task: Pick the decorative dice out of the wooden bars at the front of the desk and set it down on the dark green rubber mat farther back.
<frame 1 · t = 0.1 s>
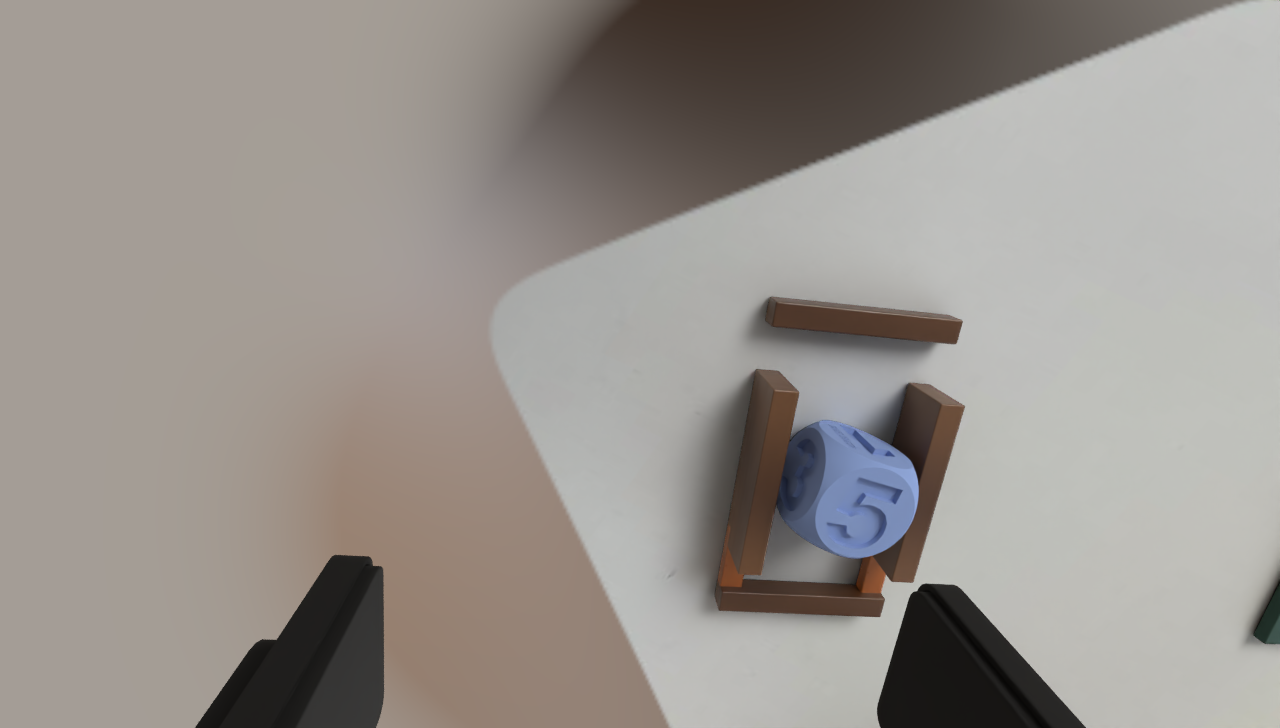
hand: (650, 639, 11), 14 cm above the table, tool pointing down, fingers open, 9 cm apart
decorative dice: (823, 461, 26), resting in wooden bars
wooden bars: (824, 463, 26), on the table
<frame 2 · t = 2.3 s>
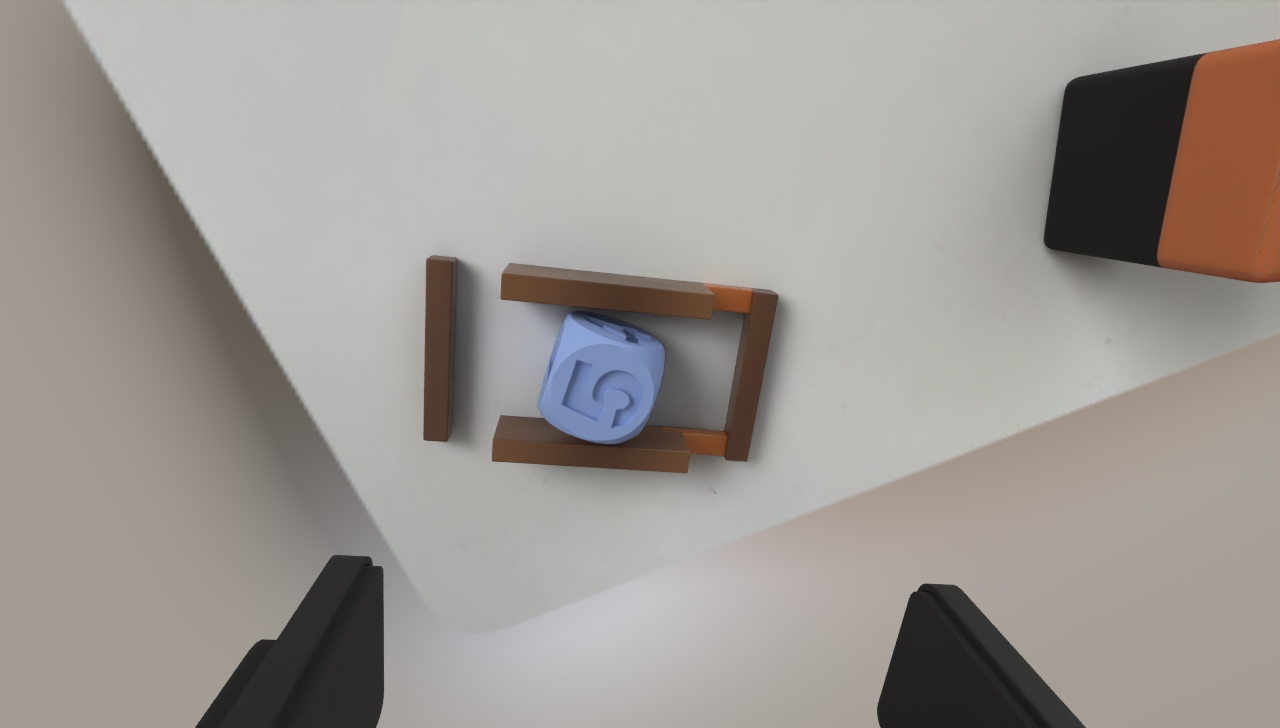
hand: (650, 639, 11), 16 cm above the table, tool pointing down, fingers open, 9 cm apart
battery: (1092, 164, 26), on the table
decorative dice: (598, 359, 26), resting in wooden bars
wooden bars: (598, 361, 26), on the table
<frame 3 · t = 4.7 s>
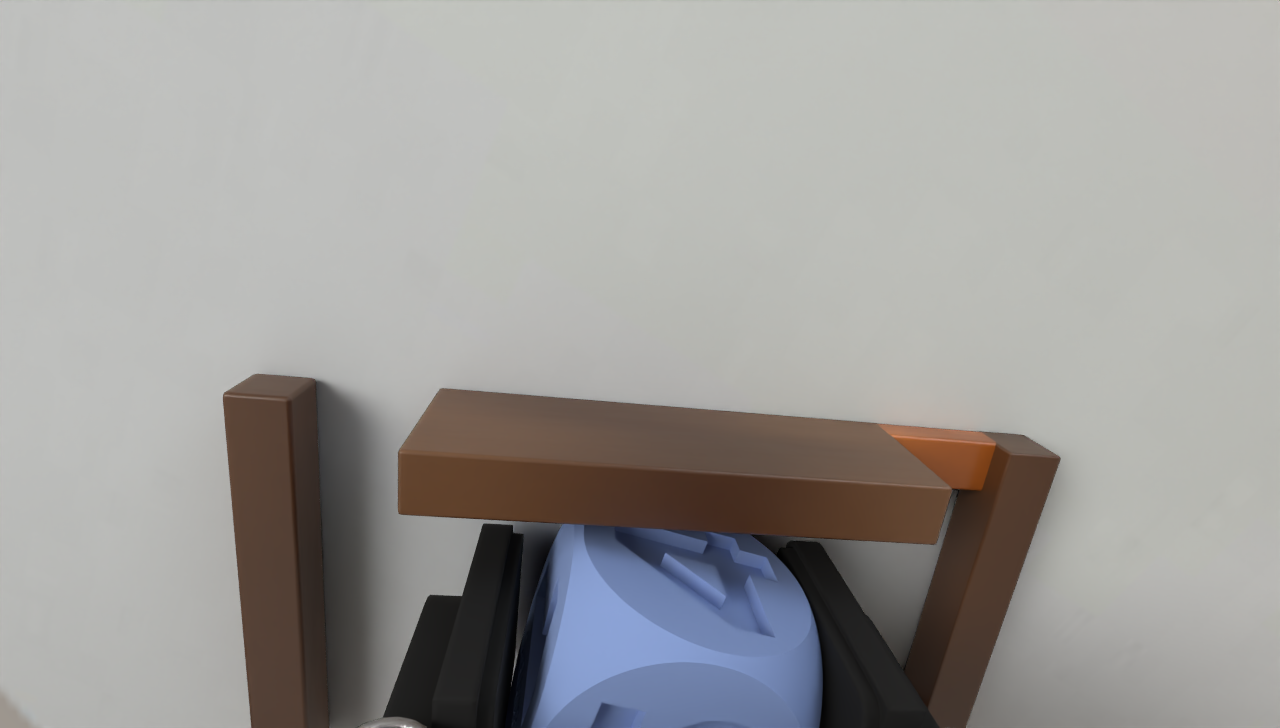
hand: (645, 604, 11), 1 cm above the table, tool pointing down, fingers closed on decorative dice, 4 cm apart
decorative dice: (641, 577, 12), resting in wooden bars, touching gripper
wooden bars: (642, 583, 12), on the table
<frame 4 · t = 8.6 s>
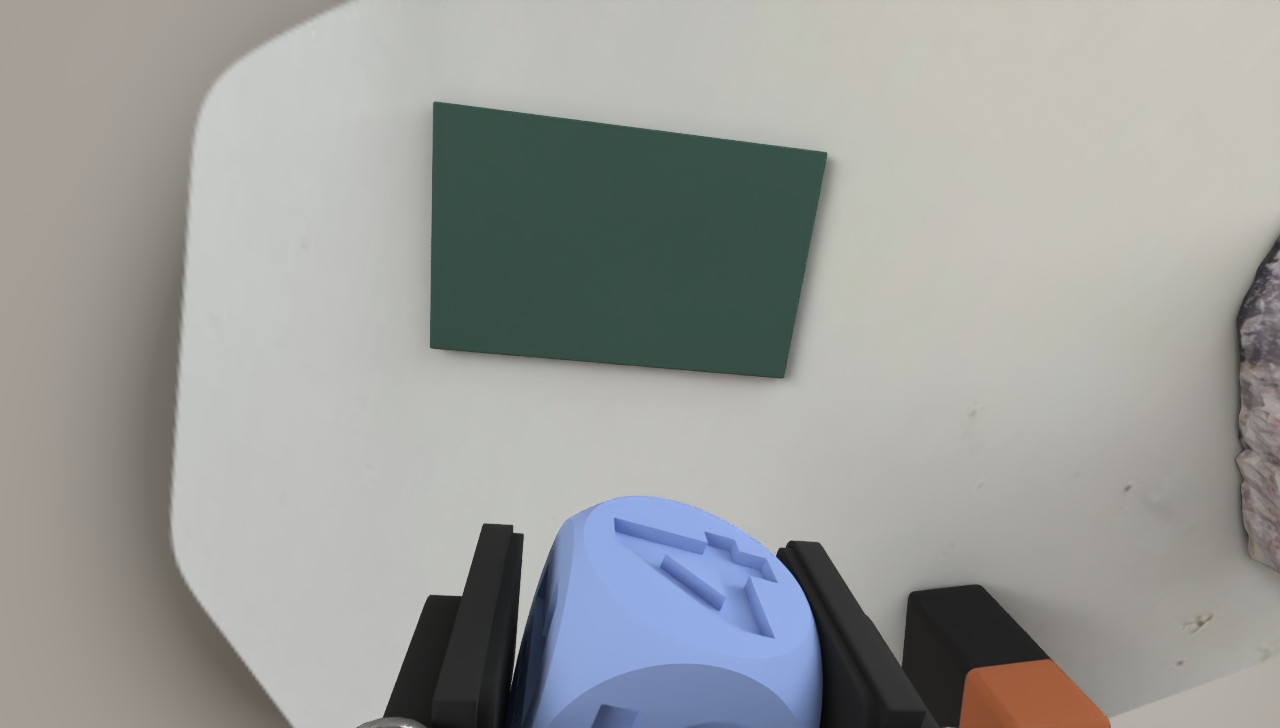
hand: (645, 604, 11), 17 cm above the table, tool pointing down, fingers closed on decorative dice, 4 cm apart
battery: (935, 631, 35), on the table
decorative dice: (641, 578, 12), point 16 cm above the table, touching gripper
mat: (623, 250, 26), on the table
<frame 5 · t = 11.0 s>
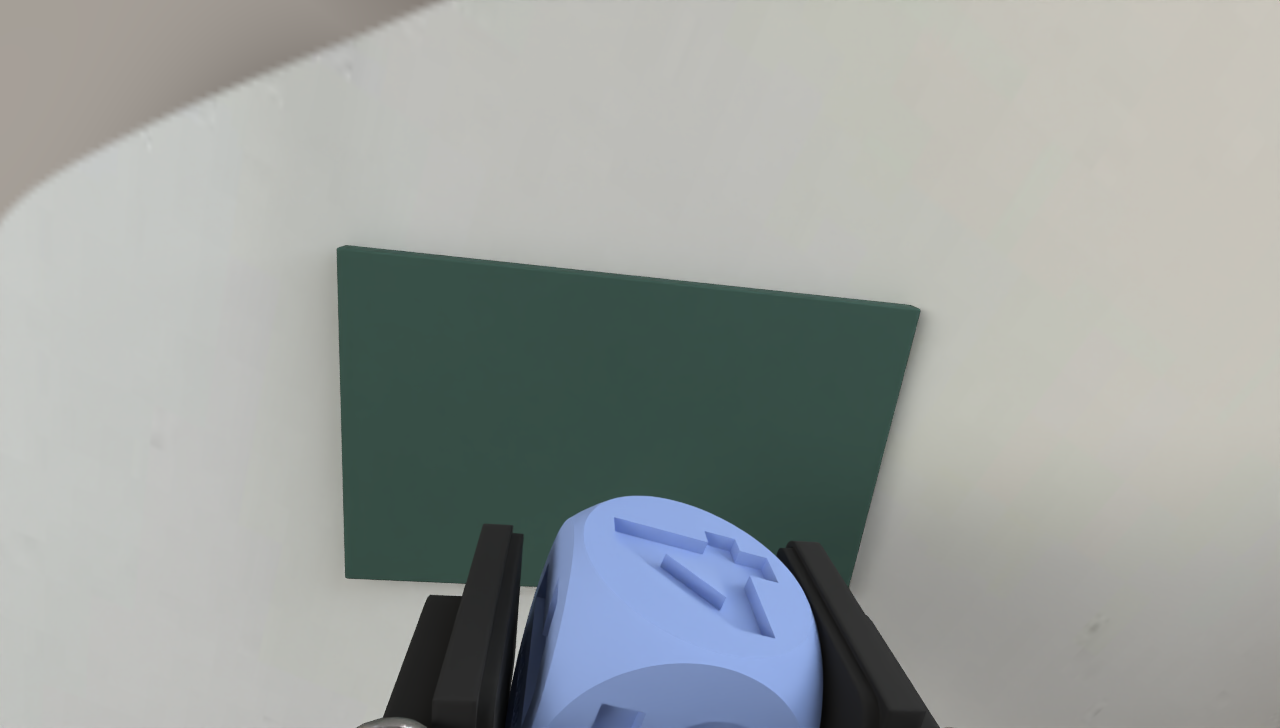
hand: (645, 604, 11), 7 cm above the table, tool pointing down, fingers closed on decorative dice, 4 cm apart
decorative dice: (642, 578, 12), point 7 cm above the table, touching gripper
mat: (623, 439, 18), on the table
when the fingers open (1 cm above the table, at t = 12.8 s): decorative dice stays where it is, resting on mat.
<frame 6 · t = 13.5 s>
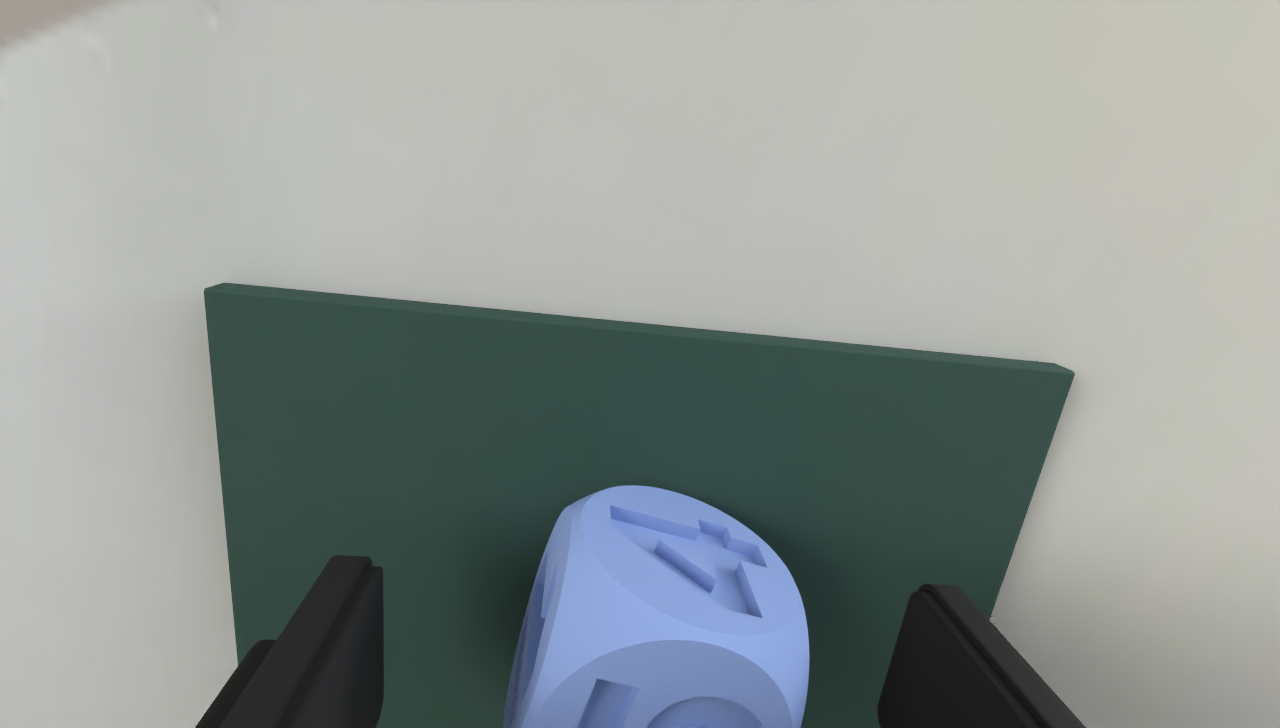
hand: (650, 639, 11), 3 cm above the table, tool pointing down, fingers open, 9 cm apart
decorative dice: (638, 566, 13), resting on mat
mat: (640, 551, 13), on the table
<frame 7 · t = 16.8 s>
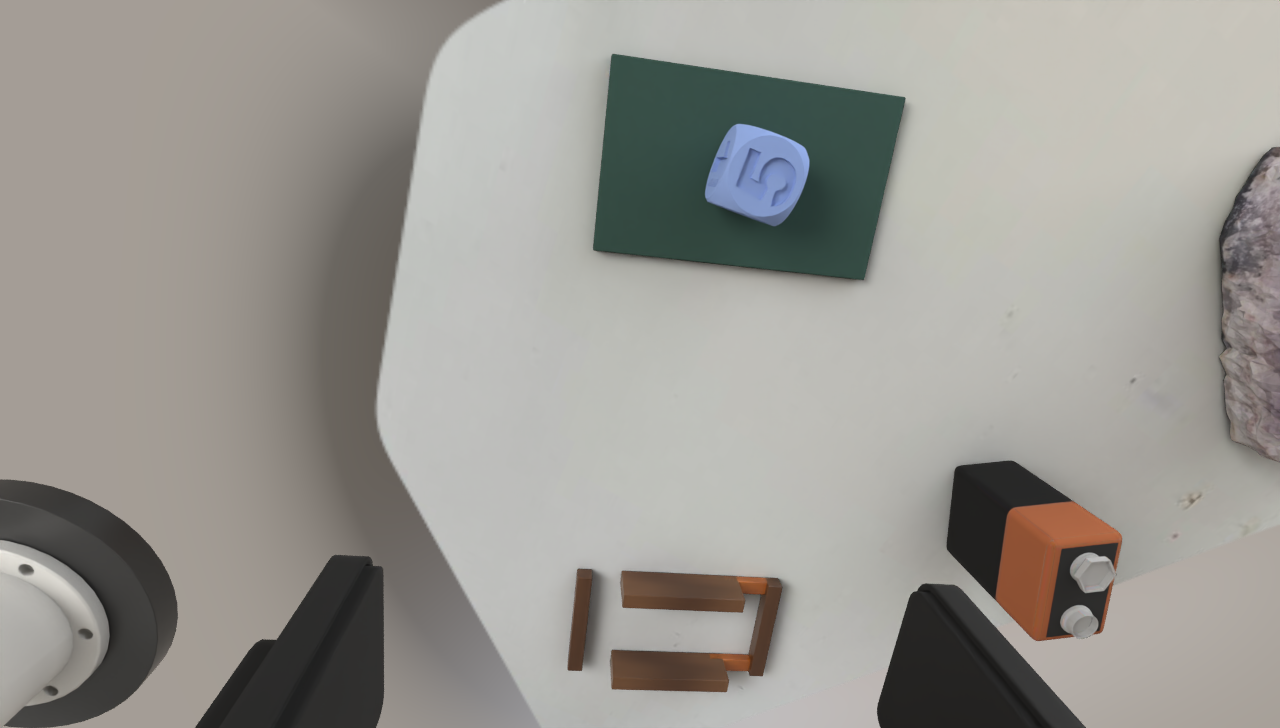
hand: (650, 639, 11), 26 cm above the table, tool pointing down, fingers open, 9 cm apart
battery: (975, 503, 42), on the table
geode: (1271, 300, 39), on the table
decorative dice: (744, 176, 34), resting on mat
wooden bars: (672, 619, 43), on the table
mat: (744, 174, 34), on the table
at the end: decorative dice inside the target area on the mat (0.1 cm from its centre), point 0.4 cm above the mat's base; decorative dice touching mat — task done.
